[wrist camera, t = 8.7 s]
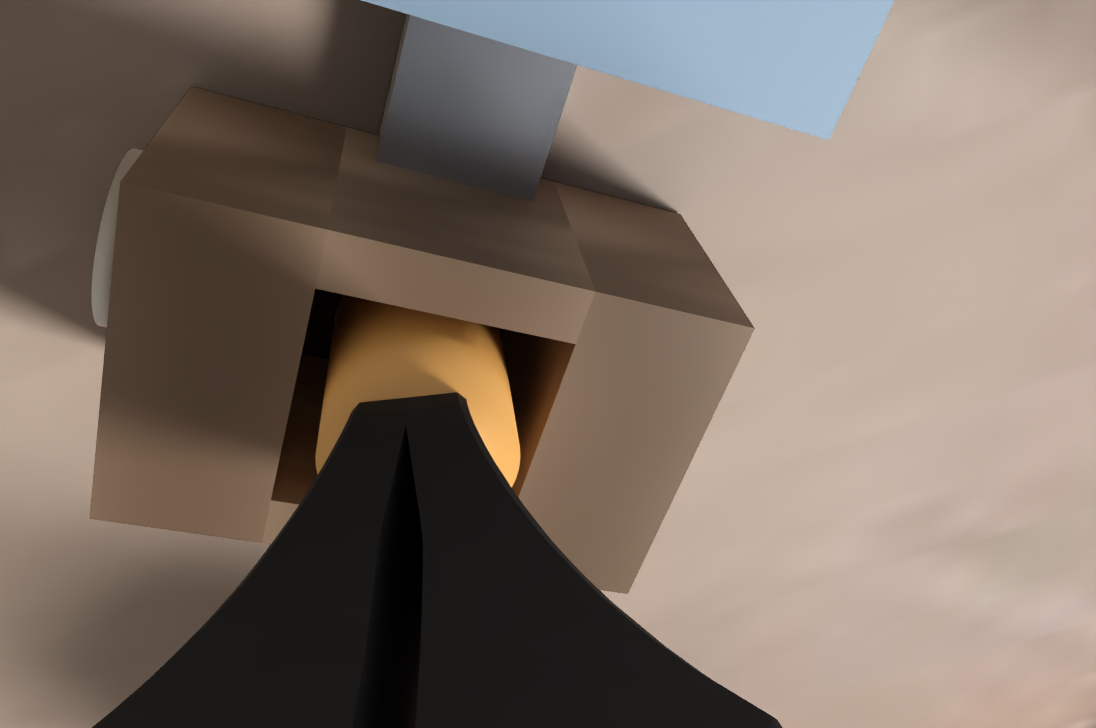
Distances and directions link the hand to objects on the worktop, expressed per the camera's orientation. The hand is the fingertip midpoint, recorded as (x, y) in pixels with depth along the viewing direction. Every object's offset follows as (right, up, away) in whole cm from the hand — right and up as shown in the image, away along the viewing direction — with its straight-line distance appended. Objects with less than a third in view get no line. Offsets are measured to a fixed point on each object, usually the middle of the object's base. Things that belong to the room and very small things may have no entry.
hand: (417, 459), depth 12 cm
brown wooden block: (-1, +2, +4) cm, 5 cm away
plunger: (0, +1, +2) cm, 2 cm away
